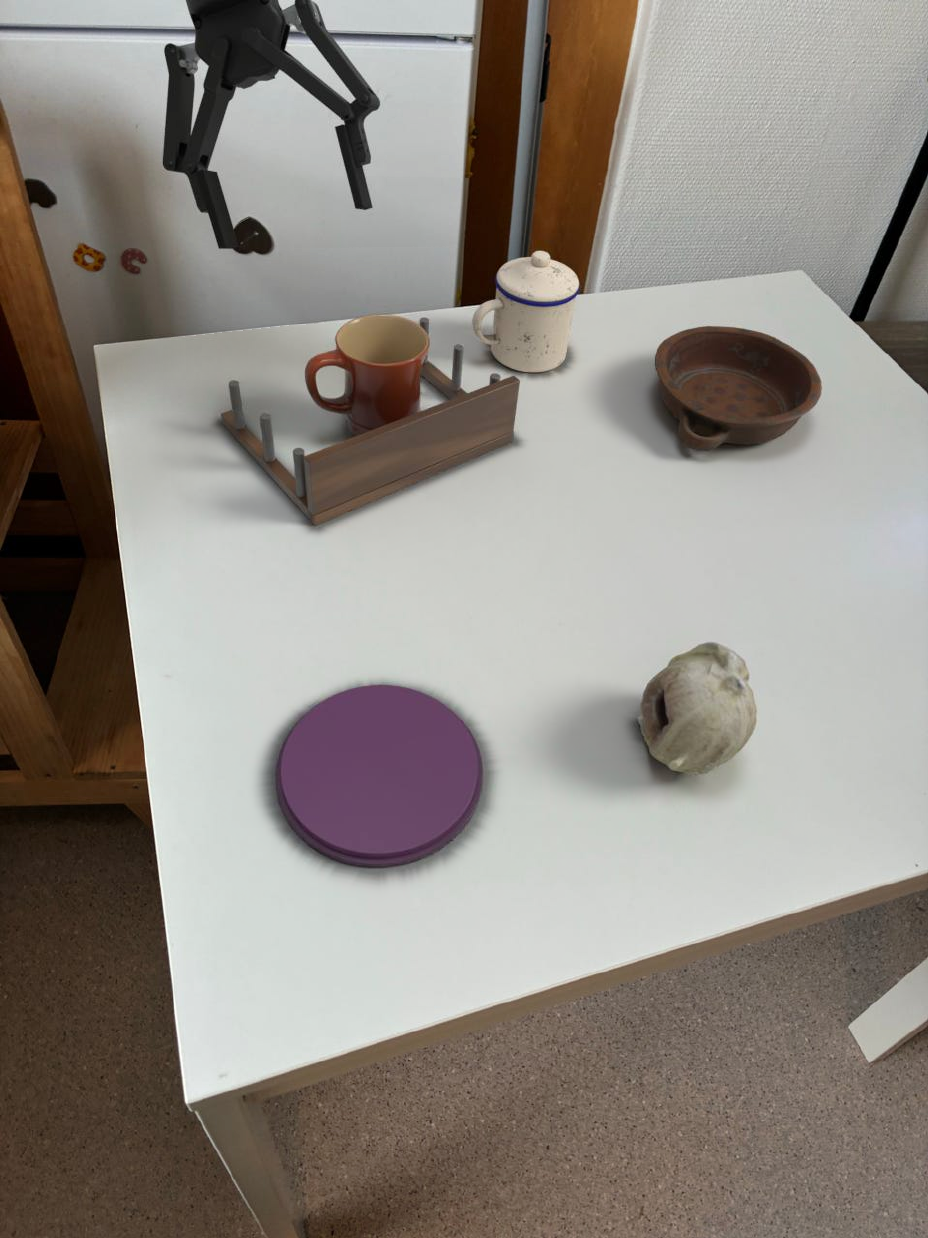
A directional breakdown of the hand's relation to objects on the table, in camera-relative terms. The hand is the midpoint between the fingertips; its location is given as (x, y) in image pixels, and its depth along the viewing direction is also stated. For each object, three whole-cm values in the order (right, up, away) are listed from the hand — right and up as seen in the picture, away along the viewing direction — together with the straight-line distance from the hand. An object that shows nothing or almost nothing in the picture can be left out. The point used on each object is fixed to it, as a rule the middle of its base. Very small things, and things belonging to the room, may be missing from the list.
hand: (295, 228), depth 81 cm
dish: (+44, -12, +17) cm, 48 cm away
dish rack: (+6, -16, +10) cm, 20 cm away
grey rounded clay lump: (+32, -45, -13) cm, 57 cm away
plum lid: (+9, -46, -16) cm, 50 cm away
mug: (+6, -16, +10) cm, 20 cm away
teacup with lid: (+21, -5, +21) cm, 30 cm away
